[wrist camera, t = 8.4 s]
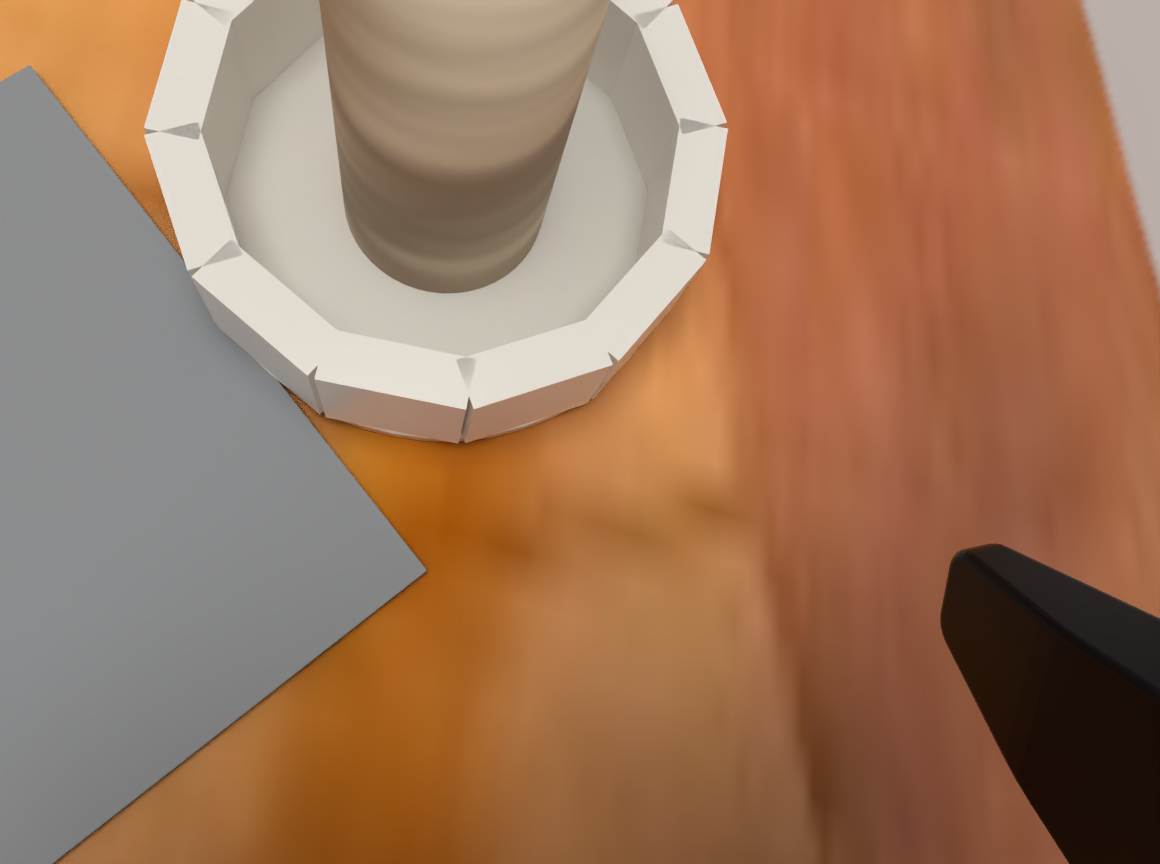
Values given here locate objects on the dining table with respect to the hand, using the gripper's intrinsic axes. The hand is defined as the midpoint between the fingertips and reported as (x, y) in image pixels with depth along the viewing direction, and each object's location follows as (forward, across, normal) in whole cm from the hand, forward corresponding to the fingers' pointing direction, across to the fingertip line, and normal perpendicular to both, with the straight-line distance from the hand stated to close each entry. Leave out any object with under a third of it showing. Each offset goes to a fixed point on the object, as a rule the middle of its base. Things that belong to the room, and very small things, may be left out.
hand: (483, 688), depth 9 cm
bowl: (+17, -2, +2) cm, 17 cm away
